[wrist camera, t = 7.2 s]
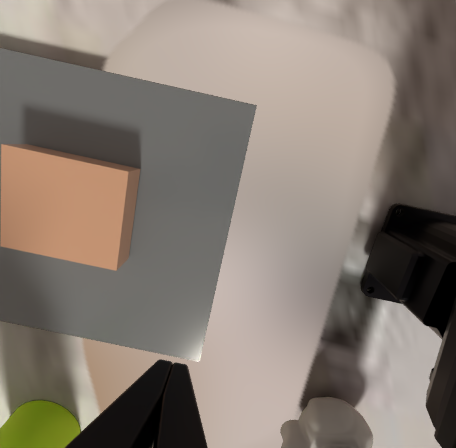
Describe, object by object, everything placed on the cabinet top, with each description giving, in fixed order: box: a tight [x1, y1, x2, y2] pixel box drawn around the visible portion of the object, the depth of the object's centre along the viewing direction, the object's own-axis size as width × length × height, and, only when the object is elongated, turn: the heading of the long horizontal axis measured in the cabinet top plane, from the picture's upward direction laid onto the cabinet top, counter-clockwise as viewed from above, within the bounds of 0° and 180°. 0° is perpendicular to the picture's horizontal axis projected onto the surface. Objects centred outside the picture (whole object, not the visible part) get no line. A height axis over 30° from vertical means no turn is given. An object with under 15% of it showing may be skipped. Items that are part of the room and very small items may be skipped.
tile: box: [1, 144, 140, 271], centre depth 18 cm, size 2×6×7 cm
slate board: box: [0, 48, 256, 362], centre depth 20 cm, size 16×18×1 cm
